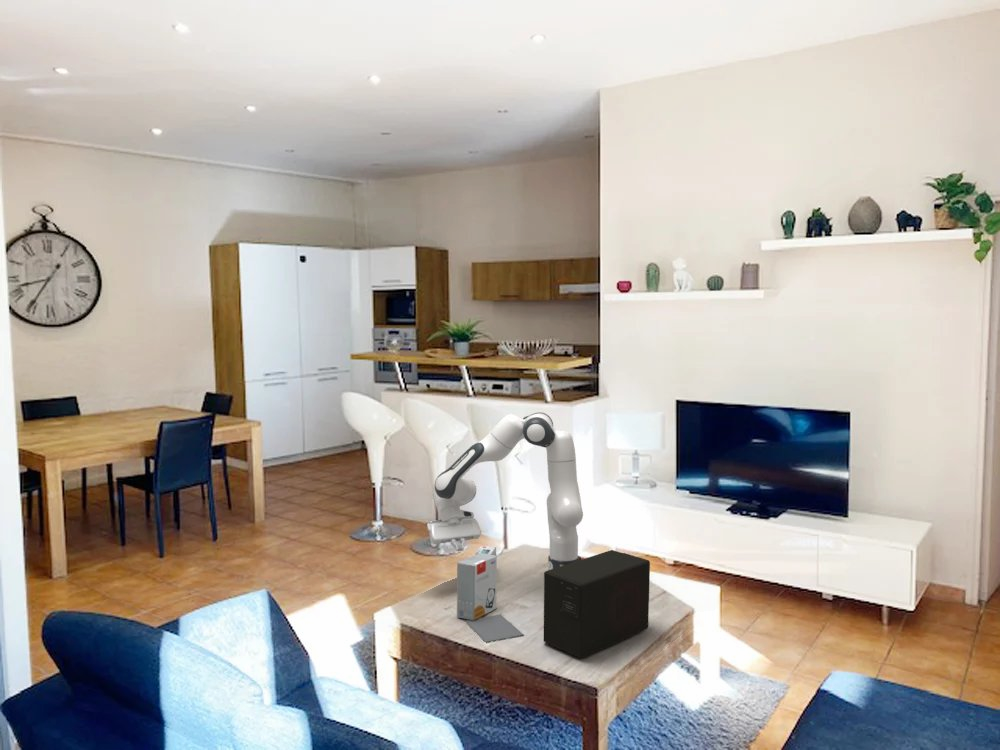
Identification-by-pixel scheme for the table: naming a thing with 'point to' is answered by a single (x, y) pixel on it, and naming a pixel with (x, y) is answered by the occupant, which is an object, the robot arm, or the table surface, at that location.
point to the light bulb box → (487, 550)
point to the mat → (494, 628)
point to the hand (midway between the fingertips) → (460, 550)
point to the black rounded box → (596, 602)
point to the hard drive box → (476, 586)
